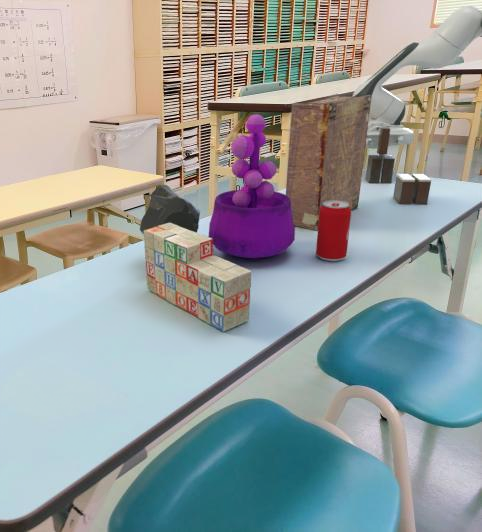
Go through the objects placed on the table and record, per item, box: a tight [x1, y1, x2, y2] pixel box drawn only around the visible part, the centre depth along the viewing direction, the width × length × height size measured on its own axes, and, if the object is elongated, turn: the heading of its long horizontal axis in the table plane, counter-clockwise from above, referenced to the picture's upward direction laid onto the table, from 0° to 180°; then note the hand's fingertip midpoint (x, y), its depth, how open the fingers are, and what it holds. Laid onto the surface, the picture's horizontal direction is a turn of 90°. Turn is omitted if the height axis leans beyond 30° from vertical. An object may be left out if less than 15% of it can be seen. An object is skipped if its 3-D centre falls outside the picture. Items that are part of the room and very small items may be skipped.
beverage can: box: [315, 200, 352, 262], centre depth 110 cm, size 6×6×12 cm
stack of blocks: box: [143, 223, 252, 333], centre depth 91 cm, size 21×6×12 cm, turn 35°
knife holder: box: [365, 154, 396, 184], centre depth 169 cm, size 7×6×8 cm
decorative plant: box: [208, 114, 296, 259], centre depth 111 cm, size 19×18×30 cm
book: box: [285, 93, 372, 231], centre depth 134 cm, size 25×9×30 cm, turn 137°
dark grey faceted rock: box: [139, 184, 201, 236], centre depth 107 cm, size 14×15×18 cm
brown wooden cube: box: [392, 173, 432, 205], centre depth 147 cm, size 7×7×7 cm
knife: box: [376, 128, 390, 184], centre depth 168 cm, size 2×5×17 cm, turn 169°
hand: (384, 141), depth 165 cm, fingers open, 8 cm apart
